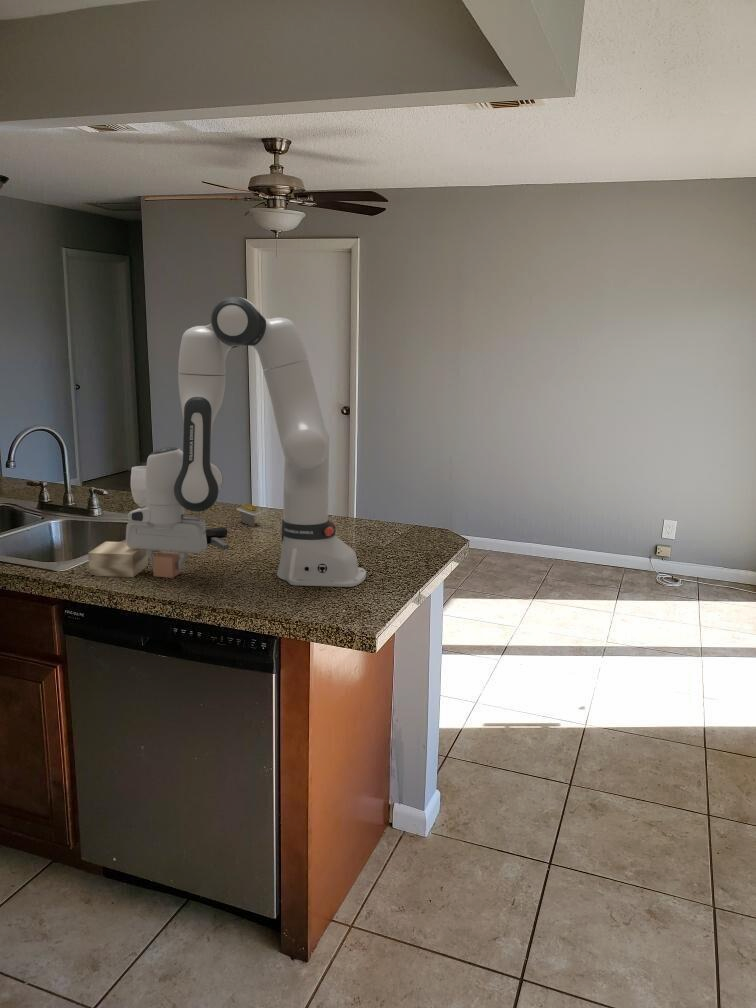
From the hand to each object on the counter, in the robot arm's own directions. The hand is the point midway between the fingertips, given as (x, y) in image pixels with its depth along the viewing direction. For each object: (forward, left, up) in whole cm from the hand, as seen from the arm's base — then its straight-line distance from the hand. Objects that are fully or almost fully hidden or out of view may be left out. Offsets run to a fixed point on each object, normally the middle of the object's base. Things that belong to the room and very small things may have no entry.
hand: (167, 567), depth 195 cm
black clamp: (+3, -29, -2) cm, 29 cm away
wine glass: (+22, -31, -2) cm, 38 cm away
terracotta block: (0, 0, -2) cm, 2 cm away
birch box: (+13, 0, -2) cm, 13 cm away
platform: (-1, -56, -2) cm, 56 cm away
